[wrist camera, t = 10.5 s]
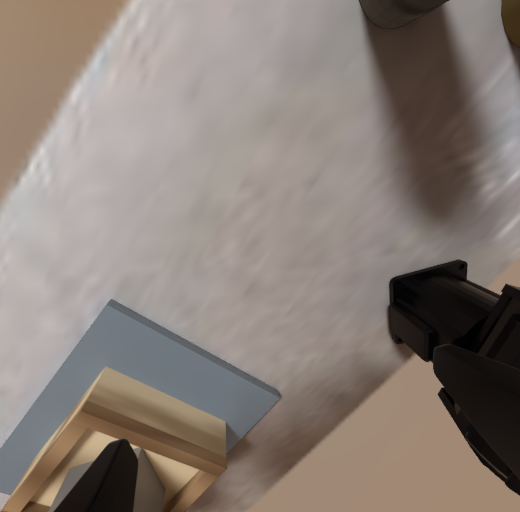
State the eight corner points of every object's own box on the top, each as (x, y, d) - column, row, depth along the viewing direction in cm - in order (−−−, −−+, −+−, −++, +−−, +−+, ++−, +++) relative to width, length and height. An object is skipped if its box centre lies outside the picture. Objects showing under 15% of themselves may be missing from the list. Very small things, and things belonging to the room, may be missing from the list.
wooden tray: (105, 366, 20) (80, 411, 16) (225, 421, 23) (226, 468, 19) (33, 460, 21) (-5, 519, 18) (154, 498, 25) (143, 554, 21)
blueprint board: (111, 298, 19) (106, 304, 18) (278, 390, 24) (280, 398, 23) (-18, 474, 22) (-27, 485, 21) (152, 522, 27) (150, 532, 26)
